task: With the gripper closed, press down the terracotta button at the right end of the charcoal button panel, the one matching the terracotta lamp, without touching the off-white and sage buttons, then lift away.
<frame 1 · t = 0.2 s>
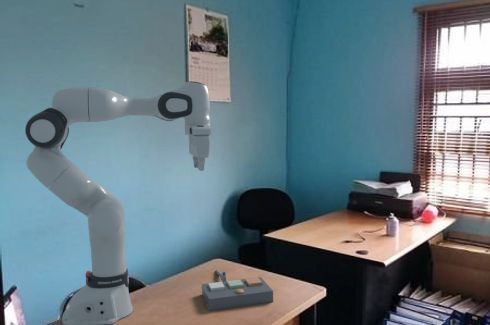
hand: (198, 169, 147), 47 cm above the table, tool pointing down, fingers open, 8 cm apart
terracotta button: (253, 284, 156), point 3 cm above the table, slide at 0.0 cm
white button: (216, 289, 153), point 3 cm above the table, slide at 0.0 cm
button panel: (236, 298, 153), on the table
sage button: (235, 286, 155), point 3 cm above the table, slide at 0.0 cm
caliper: (220, 280, 172), on the table
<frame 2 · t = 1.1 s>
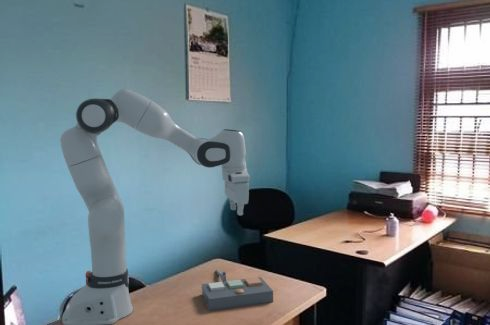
hand: (236, 212, 152), 31 cm above the table, tool pointing down, fingers open, 8 cm apart
nothing on the table moved.
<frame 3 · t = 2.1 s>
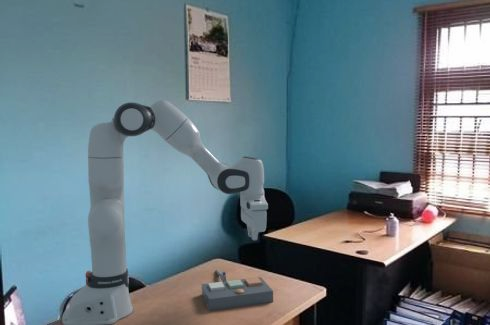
hand: (252, 238, 155), 21 cm above the table, tool pointing down, fingers open, 3 cm apart
nothing on the table moved.
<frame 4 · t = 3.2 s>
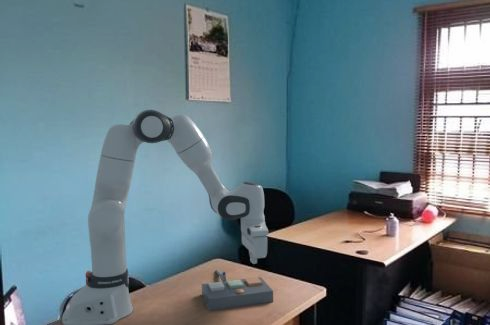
hand: (253, 262, 156), 12 cm above the table, tool pointing down, fingers closed
nothing on the table moved.
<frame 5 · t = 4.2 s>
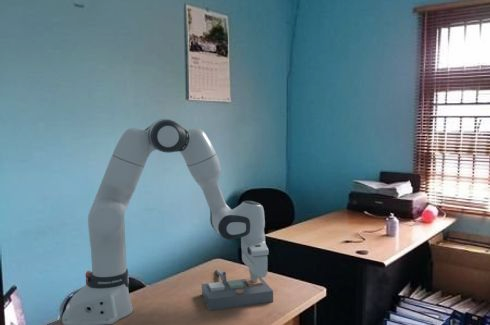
hand: (253, 280, 156), 5 cm above the table, tool pointing down, fingers closed, pressing on terracotta button
terracotta button: (253, 285, 156), point 3 cm above the table, slide at 0.2 cm, touching gripper
everything else where it was.
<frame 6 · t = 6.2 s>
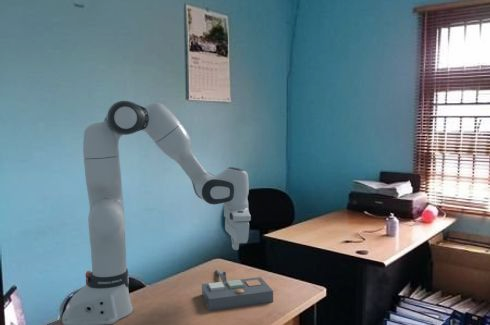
hand: (235, 248, 155), 17 cm above the table, tool pointing down, fingers closed
terracotta button: (253, 286, 157), point 3 cm above the table, slide at 0.8 cm
everything else where it was.
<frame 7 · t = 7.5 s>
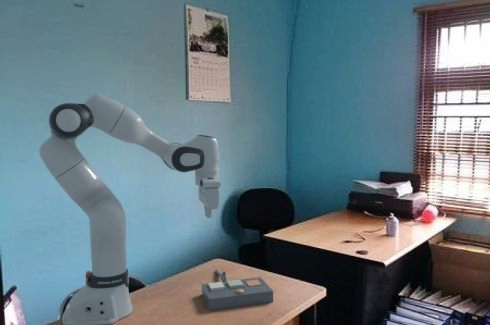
hand: (208, 216, 155), 29 cm above the table, tool pointing down, fingers closed
nothing on the table moved.
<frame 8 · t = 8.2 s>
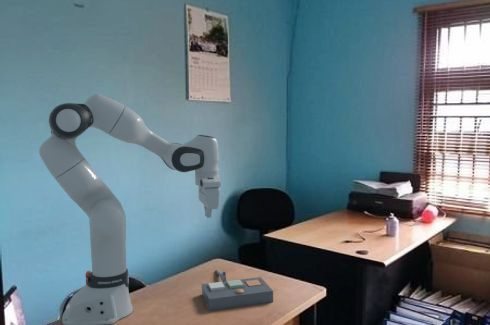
hand: (208, 216, 155), 29 cm above the table, tool pointing down, fingers closed
nothing on the table moved.
at the end: terracotta button slide at 0.8 cm; sage button slide at 0.0 cm; white button slide at 0.0 cm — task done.
